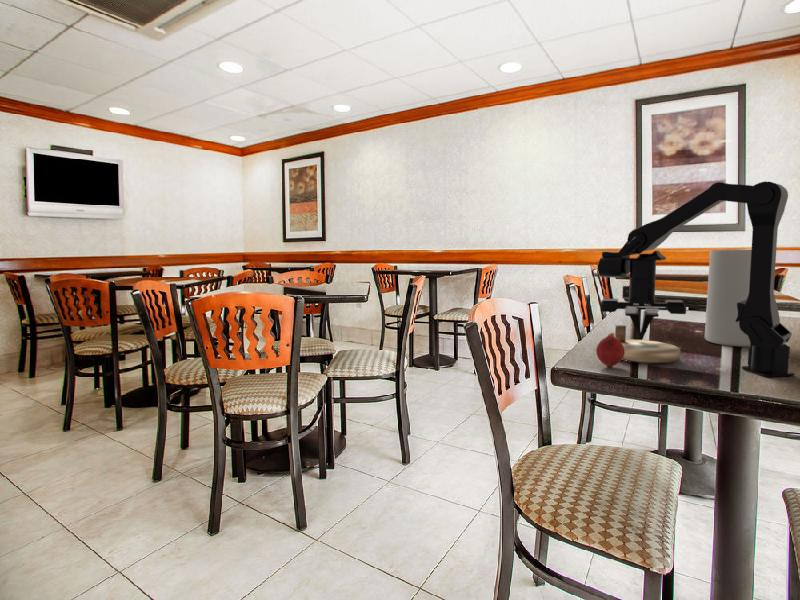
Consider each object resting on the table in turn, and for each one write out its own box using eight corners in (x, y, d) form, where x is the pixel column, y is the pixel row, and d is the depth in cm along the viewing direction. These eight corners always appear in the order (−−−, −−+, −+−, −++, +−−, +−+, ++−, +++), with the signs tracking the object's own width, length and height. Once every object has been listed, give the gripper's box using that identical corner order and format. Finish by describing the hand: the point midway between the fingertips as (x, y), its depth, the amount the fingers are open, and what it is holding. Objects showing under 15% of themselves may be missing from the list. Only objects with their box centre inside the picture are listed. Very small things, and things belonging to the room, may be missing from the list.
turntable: (695, 357, 107) (697, 333, 106) (644, 365, 101) (645, 340, 101) (638, 343, 122) (639, 322, 121) (591, 350, 116) (592, 327, 115)
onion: (620, 372, 100) (622, 336, 99) (592, 368, 103) (594, 333, 102) (626, 366, 104) (627, 332, 103) (599, 362, 108) (600, 329, 107)
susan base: (681, 362, 106) (681, 360, 106) (632, 365, 105) (632, 362, 105) (649, 350, 118) (649, 348, 118) (604, 352, 117) (604, 350, 117)
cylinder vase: (703, 335, 134) (708, 250, 130) (757, 339, 127) (764, 249, 124) (705, 344, 123) (711, 251, 120) (764, 349, 117) (772, 251, 113)
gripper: (681, 276, 118) (679, 335, 120) (602, 276, 126) (601, 331, 127) (687, 279, 108) (684, 344, 110) (601, 279, 116) (600, 339, 117)
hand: (640, 339), depth 116 cm, fingers closed
